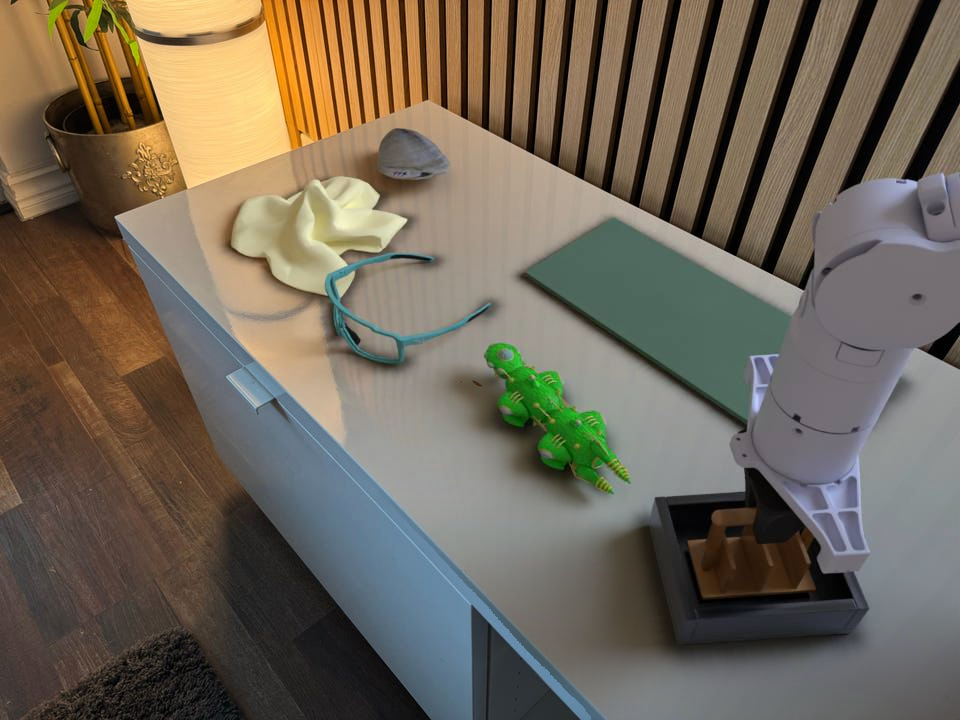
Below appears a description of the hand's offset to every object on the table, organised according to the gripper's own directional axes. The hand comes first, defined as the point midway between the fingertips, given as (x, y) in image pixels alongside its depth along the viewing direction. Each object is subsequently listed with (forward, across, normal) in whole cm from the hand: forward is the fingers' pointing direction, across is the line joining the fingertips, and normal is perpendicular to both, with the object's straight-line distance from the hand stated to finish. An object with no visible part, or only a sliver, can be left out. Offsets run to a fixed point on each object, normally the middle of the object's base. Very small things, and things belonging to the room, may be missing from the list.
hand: (766, 527), depth 51 cm
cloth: (+7, -45, -35) cm, 58 cm away
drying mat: (+7, -27, +3) cm, 28 cm away
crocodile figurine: (+7, -15, -12) cm, 21 cm away
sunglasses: (+7, -31, -26) cm, 41 cm away
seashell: (+7, -57, -25) cm, 63 cm away
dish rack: (+5, 0, 0) cm, 5 cm away
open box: (+7, 0, 0) cm, 7 cm away
